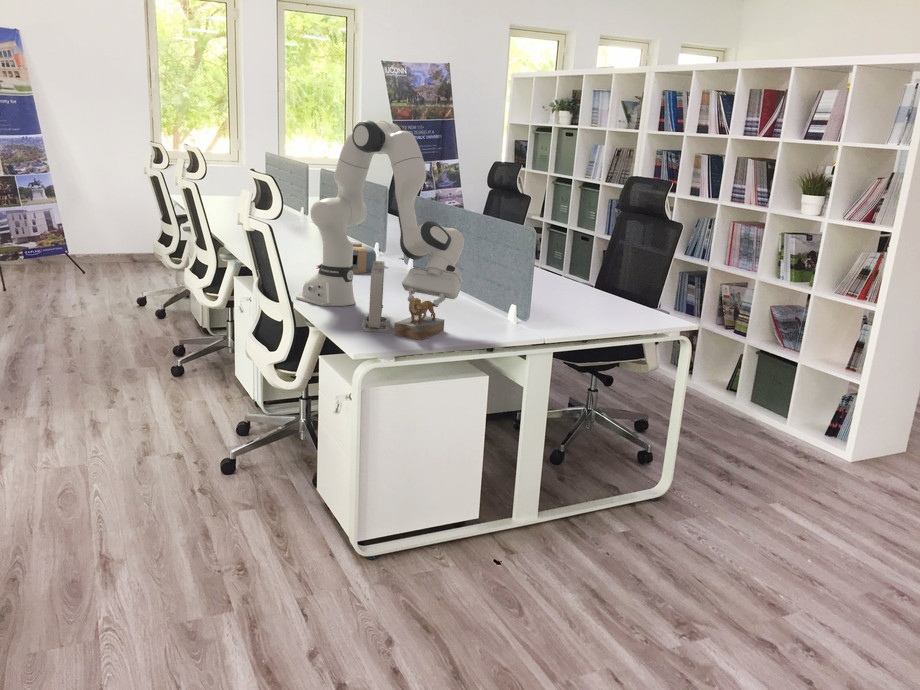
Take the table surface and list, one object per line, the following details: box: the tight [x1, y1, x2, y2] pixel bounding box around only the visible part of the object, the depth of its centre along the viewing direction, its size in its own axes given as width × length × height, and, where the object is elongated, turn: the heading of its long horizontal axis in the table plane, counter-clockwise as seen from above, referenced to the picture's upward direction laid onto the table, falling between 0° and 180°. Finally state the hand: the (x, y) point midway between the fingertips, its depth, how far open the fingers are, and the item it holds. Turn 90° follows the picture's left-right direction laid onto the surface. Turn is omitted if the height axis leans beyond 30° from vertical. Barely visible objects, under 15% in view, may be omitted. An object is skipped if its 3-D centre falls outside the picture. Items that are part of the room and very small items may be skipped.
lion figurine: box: [408, 297, 436, 324], centre depth 263 cm, size 15×5×9 cm, turn 155°
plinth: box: [393, 314, 446, 341], centre depth 265 cm, size 10×16×4 cm, turn 153°
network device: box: [361, 260, 390, 333], centre depth 269 cm, size 26×9×20 cm, turn 4°
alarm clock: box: [351, 241, 377, 274], centre depth 369 cm, size 19×20×12 cm
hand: (422, 303), depth 264 cm, fingers open, 8 cm apart
